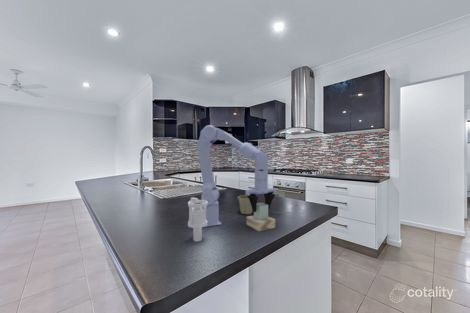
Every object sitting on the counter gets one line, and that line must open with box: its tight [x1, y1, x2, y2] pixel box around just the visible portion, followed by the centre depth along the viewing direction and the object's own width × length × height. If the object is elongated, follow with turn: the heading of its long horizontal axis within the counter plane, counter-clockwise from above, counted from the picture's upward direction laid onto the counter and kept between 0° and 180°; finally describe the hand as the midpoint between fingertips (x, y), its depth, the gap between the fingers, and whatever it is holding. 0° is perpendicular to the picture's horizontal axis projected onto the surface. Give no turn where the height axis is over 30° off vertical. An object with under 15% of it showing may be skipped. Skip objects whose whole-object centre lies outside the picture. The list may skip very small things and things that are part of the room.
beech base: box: [246, 215, 277, 232], centre depth 88 cm, size 9×9×4 cm
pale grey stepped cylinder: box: [187, 197, 208, 242], centre depth 73 cm, size 7×7×15 cm
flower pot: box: [237, 194, 253, 215], centre depth 108 cm, size 9×9×9 cm
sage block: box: [253, 202, 269, 220], centre depth 88 cm, size 4×4×6 cm
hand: (260, 210), depth 88 cm, fingers open, 6 cm apart
